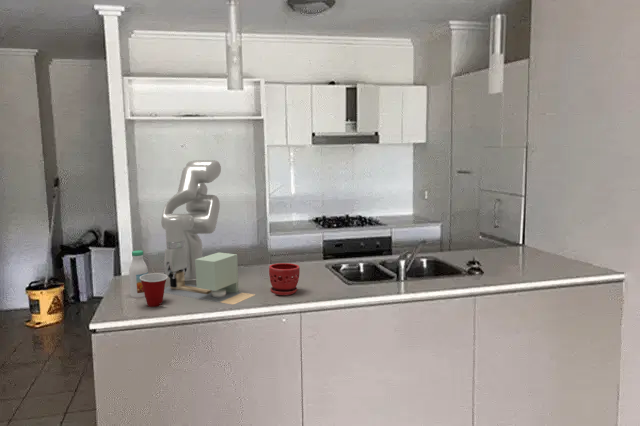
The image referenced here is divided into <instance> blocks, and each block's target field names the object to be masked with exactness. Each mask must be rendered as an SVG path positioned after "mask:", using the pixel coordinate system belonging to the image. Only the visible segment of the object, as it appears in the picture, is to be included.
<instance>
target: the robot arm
mask: <svg viewBox="0 0 640 426" xmlns="http://www.w3.org/2000/svg"><path fill="white" fill-rule="evenodd" d="M221 171H222V166H221V162H219V161H218V160H212V159H211V160H209V159H206V160H199V159H198V160H192V161H188V162H187V163H186V166H185V167H183V169H182V172H181V176H180V180H179V185H178V189H177V192H176V194H174V195H173V196H171V198H169V200H168V201H167V202H166V204H165V205H164V207H163V210H162V215H161V227H162V229H163V230H165V241H166V242H165V243H166V245H165V246H166V249H165V250H164V257H163V259H164V260H163V263H164V264H163V266H164V272H163V274H165V275H167V276H168V277H167V278H169V284H170V285H169V286H171V287H177V284H176V278H175V274H176V271H182V272H184V277H185V281H196V265H195V259H198V258H202V257H204V256H203V242H202V239H201V238H200V236H199V234H201V235H204V234H205V235H207V234H212V233H214V232H215V231H216V228H217V223H218V218H219V215H220V214H219V213H220V205H221V203H220V200H219V199H220V198H219V197H218V196H217V195H214V194H208V189H209V188H208V186H207V185H206V184H209V183H212V182H214V181H215V180H217V179H218V177H219V176H220V175H221ZM183 205H185V209H186V212H187V213H173V212H175V211H176V209H178V207H181V206H183ZM172 273H173V275H172Z"/></svg>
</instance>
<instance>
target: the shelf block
mask: <svg viewBox="0 0 640 426" xmlns="http://www.w3.org/2000/svg"><path fill="white" fill-rule="evenodd" d="M238 264H239V263H238V254H236V253H235V254H234V253H229V252H227V253H226V252H215V253H211V254H208V255H206V256H203V257H202V258H198V259H195V265H196V280H195V281H196V284H195V285H196V286H197V288H201V289H208V290H214V291H216V290H219V289H225V290H226V291H227V292H234V293H238V292H240V291H239V289H240V288H239V269H238V266H239V265H238Z"/></svg>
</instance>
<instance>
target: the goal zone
mask: <svg viewBox="0 0 640 426" xmlns="http://www.w3.org/2000/svg"><path fill="white" fill-rule="evenodd" d="M252 297H255V293H248V292H241V293H240V294H238V295H236V296H233V297H231V298H229V299H226V300H224V301H221V302H220V303H222V304H228V305H231V306H232V305H236V304H238V303H240V302H243V301H245V300H247V299H250V298H252Z"/></svg>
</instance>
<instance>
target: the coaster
mask: <svg viewBox="0 0 640 426" xmlns="http://www.w3.org/2000/svg"><path fill="white" fill-rule="evenodd" d="M224 296H226V290H225V289H219V290H216V291H214V290H212V297H224Z"/></svg>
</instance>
